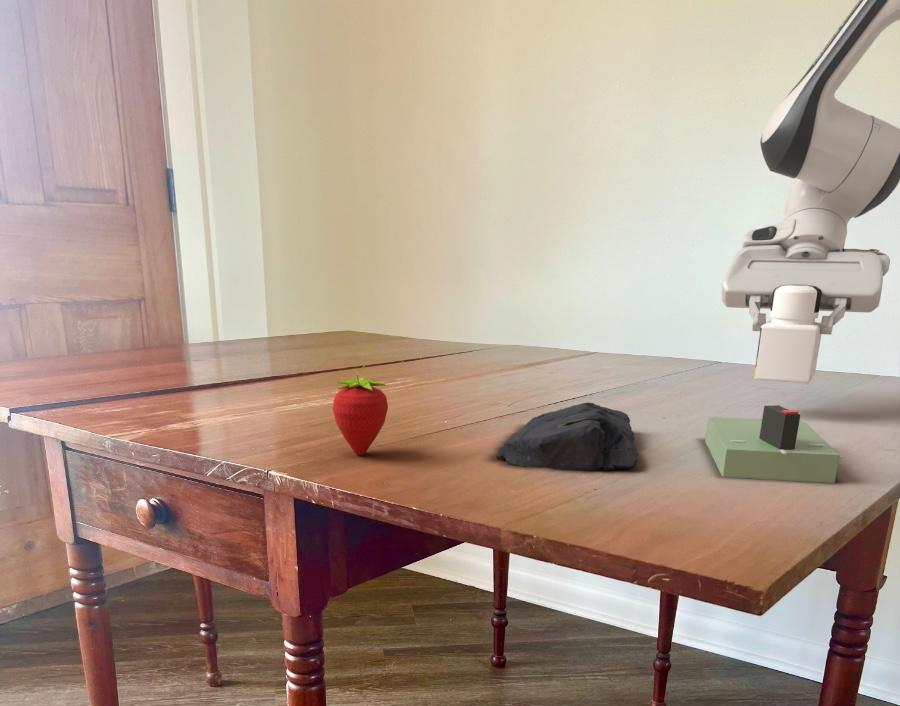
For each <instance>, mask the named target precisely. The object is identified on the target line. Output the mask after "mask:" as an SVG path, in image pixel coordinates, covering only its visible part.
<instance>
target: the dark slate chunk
mask: <svg viewBox="0 0 900 706" xmlns="http://www.w3.org/2000/svg"><path fill="white" fill-rule="evenodd" d="M635 440H636V438H635V433H634V431H633V430H632V426H631V419H630V417H629V415H628V414H627V413H625V412H624V411H621V410H617V409H611V408H608V407H605V406H601V405H600V404H596V403H594V402H590V401H589V402H588V401H587V402H582V403H579V404H575V405H571V406H568V407H564V408H560V409H557V410H553V411H549V412H545V413H542V414H540V415H537V416H534V417H532V418H531V419H530V420H529V421H528V422H527V423H526V424H525V425H524V426H523V427H522V428H521V429H519V430H517V431H516V432H514V433H513V434H511V436H510V437H509V438H508V439H507V440H506V441H505V442H504V443H503V444H502V445H501V447H499V449H498V451H497V453H496V454H495V458H496V459H498V460H499V461H502V462H506V464H507V465H508V466H513V467H521V468H540V469H541V468H544V469H551V470H560V471H578V472H594V471H604V472H607V471H608V472H609V471H616V470H629V469H631V468H633V467H635V466H637V464H638V458H639V454H638V449H637V448H636V445H635V442H634V441H635Z"/></svg>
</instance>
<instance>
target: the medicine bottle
mask: <svg viewBox="0 0 900 706" xmlns="http://www.w3.org/2000/svg"><path fill="white" fill-rule="evenodd" d="M821 296H822V291H821V289H819V288H818V287H816V286H810V285H782V286H779V287H777V288H775V289H774V290H773V296H772V303H771V309H769V310H770V311H769V317H770V318H771V320H769V321H766V323H765V324H764V325H762V326H761V330H760V331H759V338H758V344H757V350H756V351H757V352H756V357H755V366H754V373H753V379H754V380H755V381H763V382H779V383H791V384H792V383H793V384H804V385H805V384H807V385H808V384H809V383H811V381H812V380H813V378H814V377H815V376H816V370H817V363H818V359H819V358H818V357H819V352H820V346H821V340H822V334H820V325H821V322H817V321H816V319H818V318H819V314H820V311H819V308H820V302H821Z"/></svg>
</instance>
